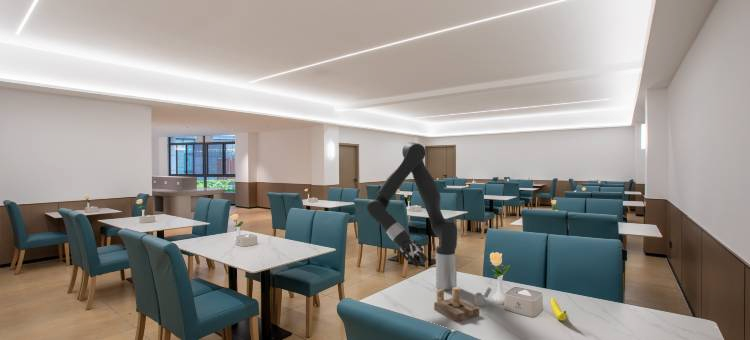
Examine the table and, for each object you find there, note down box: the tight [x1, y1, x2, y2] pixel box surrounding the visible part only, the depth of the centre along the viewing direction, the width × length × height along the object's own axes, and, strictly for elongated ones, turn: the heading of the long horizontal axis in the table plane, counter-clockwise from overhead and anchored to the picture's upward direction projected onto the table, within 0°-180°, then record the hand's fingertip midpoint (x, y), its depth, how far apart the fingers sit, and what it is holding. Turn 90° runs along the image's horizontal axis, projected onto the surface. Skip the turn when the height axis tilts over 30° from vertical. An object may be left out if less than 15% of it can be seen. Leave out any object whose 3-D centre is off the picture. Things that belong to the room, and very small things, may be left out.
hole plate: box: [433, 297, 480, 323], centre depth 155 cm, size 12×14×3 cm
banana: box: [550, 296, 568, 321], centre depth 149 cm, size 3×19×6 cm, turn 168°
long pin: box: [451, 287, 461, 309], centre depth 155 cm, size 3×3×10 cm
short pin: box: [436, 288, 445, 302], centre depth 168 cm, size 3×3×4 cm
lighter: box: [473, 287, 492, 307], centre depth 162 cm, size 7×2×8 cm, turn 72°
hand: (422, 263), depth 163 cm, fingers open, 8 cm apart
